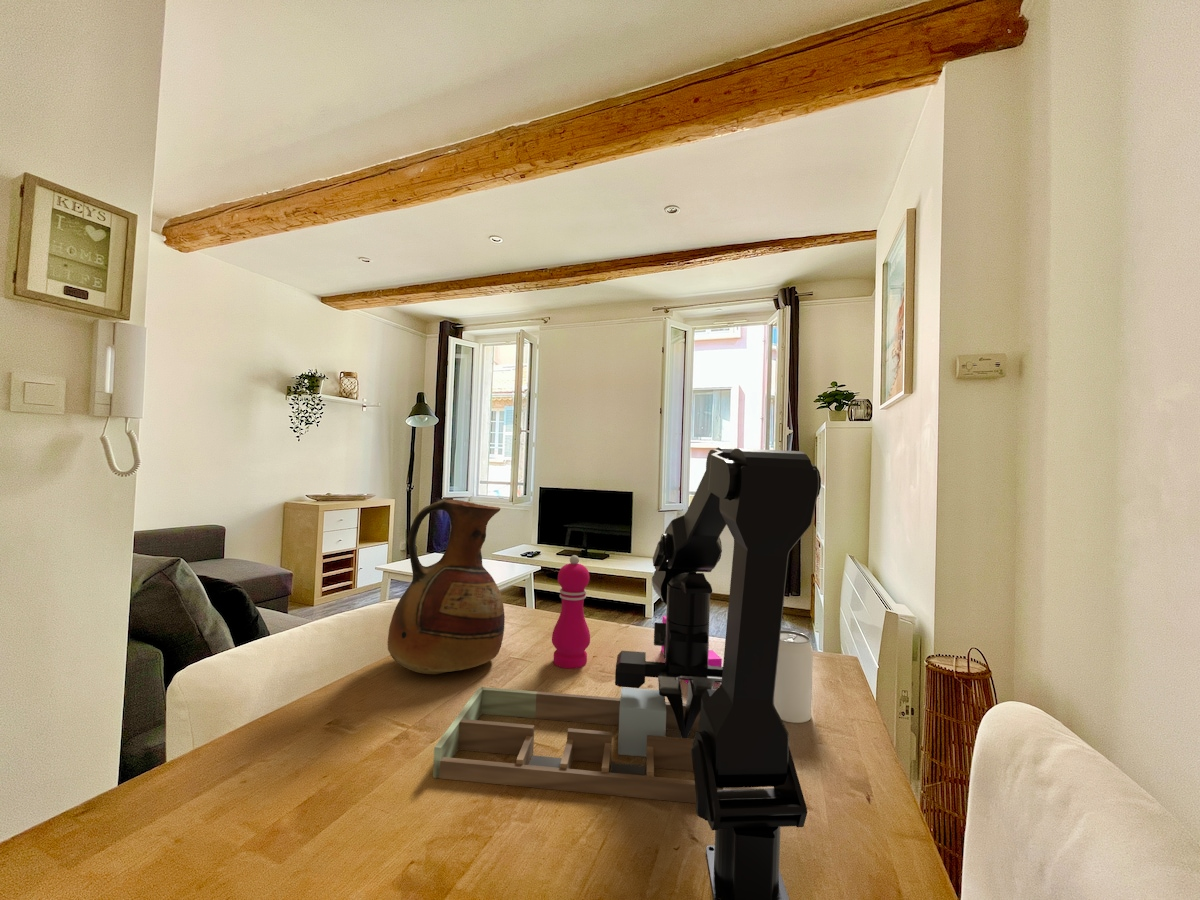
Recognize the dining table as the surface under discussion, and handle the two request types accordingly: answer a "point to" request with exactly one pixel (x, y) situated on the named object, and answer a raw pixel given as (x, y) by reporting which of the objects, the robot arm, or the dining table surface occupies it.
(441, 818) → the dining table surface
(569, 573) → the pepper mill
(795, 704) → the can
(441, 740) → the wooden compartment tray
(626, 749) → the cube
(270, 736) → the dining table surface
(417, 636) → the ceramic pitcher
